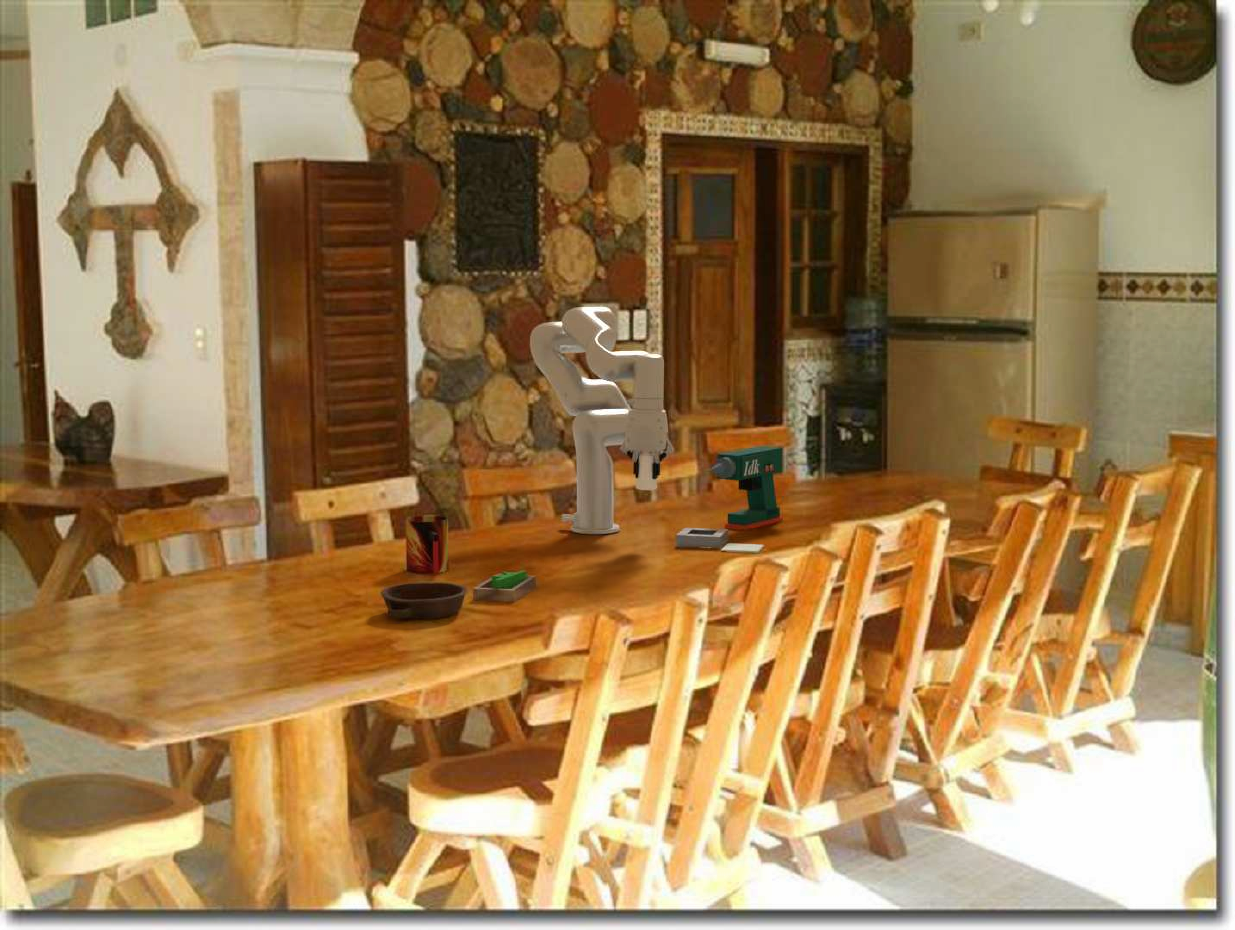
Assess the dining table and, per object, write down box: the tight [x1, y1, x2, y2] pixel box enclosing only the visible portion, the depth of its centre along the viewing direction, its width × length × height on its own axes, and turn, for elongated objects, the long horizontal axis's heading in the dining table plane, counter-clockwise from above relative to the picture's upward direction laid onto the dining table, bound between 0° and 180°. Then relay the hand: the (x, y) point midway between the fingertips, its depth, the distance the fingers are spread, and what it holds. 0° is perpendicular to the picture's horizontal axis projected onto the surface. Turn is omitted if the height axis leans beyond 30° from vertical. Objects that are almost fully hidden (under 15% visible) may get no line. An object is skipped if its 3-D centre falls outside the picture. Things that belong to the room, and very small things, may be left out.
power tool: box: [706, 445, 783, 531], centre depth 441 cm, size 32×7×20 cm, turn 143°
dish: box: [380, 581, 469, 620], centre depth 340 cm, size 18×22×5 cm
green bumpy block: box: [491, 569, 528, 589], centre depth 358 cm, size 11×4×5 cm, turn 152°
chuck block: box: [675, 527, 729, 549], centre depth 418 cm, size 11×11×3 cm
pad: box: [720, 542, 765, 554], centre depth 411 cm, size 9×9×1 cm
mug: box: [405, 514, 450, 575], centre depth 383 cm, size 10×14×12 cm
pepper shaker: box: [635, 451, 658, 491], centre depth 416 cm, size 5×5×11 cm
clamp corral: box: [472, 573, 537, 603], centre depth 359 cm, size 9×16×2 cm, turn 166°
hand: (646, 477), depth 416 cm, fingers closed on pepper shaker, 3 cm apart
